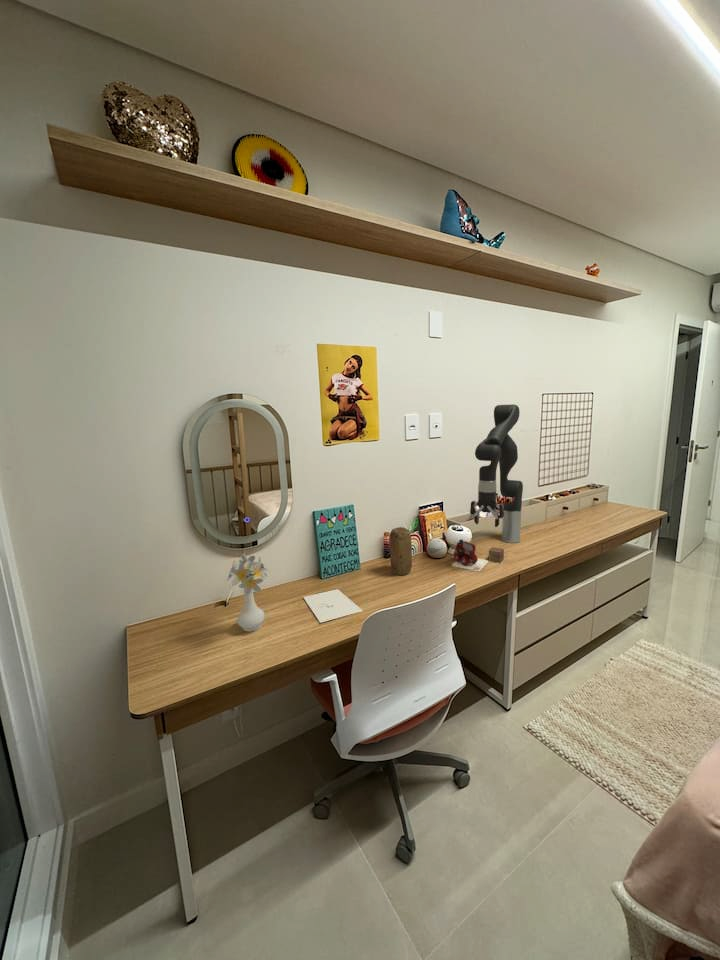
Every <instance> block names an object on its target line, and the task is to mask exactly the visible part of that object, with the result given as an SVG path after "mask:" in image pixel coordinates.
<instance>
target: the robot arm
mask: <svg viewBox="0 0 720 960" xmlns="http://www.w3.org/2000/svg"><path fill="white" fill-rule="evenodd" d="M519 418H520V408H519V405H517V404H497V405H495V407H494V409H493V420H494V426H493V428H492V429H491V430H490V431H489V433H488V434H487V436H486V438H484V439H483V440H482V441H480V443H479V444H478V445H477V446H476V447H475V451H474V456H475V458H476V459H477V460H478V461H485V462H490V464H488V465H483V466H481V467H480V468H479V472H478V478H479V479H478V486H477V490H478V491H477V492H478V493H477V496H478V497H477V501H475V500H472V501H471V502H470V508H469V509H470V511H469V514H470V515H472V516H474V523H475V525H479V522H480V521H479V520H480V515H479V514H480V513H481V512H482V513H488V514H491V515H492V516H493V517H494V518H495V519H494V528H497V527H498V526H499V525H500V519H502V520H501V521H502V525H501V526H502V527H501V541H503V542H505V543H511V544H515V543H520V542H521V524H522V522H521V521H522V502H523V490H524V484H523V482H522V481H521V480H515V479H514V480H512V479H508V477H509V473H510V472H511V470H513V467H515V465H516V464H517V461H518V459H519V456H518V455H519V454H518V446H517V443H516V442H515V441H514V439H513V438H512V437H511V436H510V435H509V432H510V431H511V430H512V429H513V428H514V426H515V425H516V424H517V422H518V421H519ZM498 465H499V492H500V495H501V497H504V498H514V500H512V501H509V502H505V503H500V504H499V503H497V468H498ZM476 506H477V507H478V509H477V511H475V510H476V509H475V508H476ZM496 509H498V510H499V513H498V510H496Z"/></svg>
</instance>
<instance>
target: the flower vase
mask: <svg viewBox="0 0 720 960" xmlns="http://www.w3.org/2000/svg"><path fill="white" fill-rule="evenodd" d="M240 557H241V560H238V562H239V563H236V559H235V558H234V559H233V563H232V567H231V568H230V570H229V574H228V578H227V580H226V582H227V581H228V580H229V579H231V578H232V577H234V578H233V580H232V581H231V586H232V587H233V586H236V585H237V584H239V583H240V582H241V583H240V584H239V585H238V587H239V589H243V596H244V597H243V598H244V599H243V600H244V604H243V608H242V610H241V611H240V612H239V613H238V615H237V619H236V623H237V625H238V626H239V627H241V628H242V630H244V632H248V633H249V632H255V631H257V630H259V629H260V628H261V627H262V624H263V623H264V621H265V618H266V615H265V612H264V610H263V609H262V608H260V607H259V606H258V605H257V603H256V599H255V597H254V592H255V593H256V592H257V593H259V592H261V591H262V588H261V587H260V585H258V584H261V583H266V582H267V580H266V577H268V575H267V573H268V572H269V571H268V568H266V567H265V565H264V563H262V560H261V556H260V555H259V556H258V557H259V558H258V560H257V561H255V559H256V556H255V555H250V556H249V557H247V556H246V555H245V554H243V553H241V554H240ZM264 575H265V576H264Z"/></svg>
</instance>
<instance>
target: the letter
mask: <svg viewBox="0 0 720 960" xmlns="http://www.w3.org/2000/svg"><path fill="white" fill-rule="evenodd" d="M488 563H490V561H489V559H488V560H487V559H482V558H478V561H477V562H476V563H471V562H469V564H468V565H463V564H462V563H461V561H459V562H457V561H456V560H455V562H453V563H452V564H451V566H452V567H454V568H460V569H465V570H468V571H475V572H478V573H479V572H481V571H482V570H483V568H484V567H485V566H486V565H487V564H488Z"/></svg>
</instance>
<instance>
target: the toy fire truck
mask: <svg viewBox="0 0 720 960" xmlns="http://www.w3.org/2000/svg"><path fill="white" fill-rule="evenodd" d="M454 552H455V553H454V554H453V559H454V561H455V562H456V561H457V562H459V561H461V563H462V564H463V565H468V564H469V562H471V563H476V562H477V561H478V559H479V557H477V555H476V545H475V544H473V543H471V542H468V541H467V540H466V541H464V540H463V539H459V541H458V542H456V545H455V548H454Z"/></svg>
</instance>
